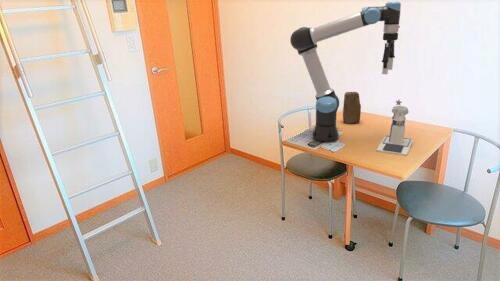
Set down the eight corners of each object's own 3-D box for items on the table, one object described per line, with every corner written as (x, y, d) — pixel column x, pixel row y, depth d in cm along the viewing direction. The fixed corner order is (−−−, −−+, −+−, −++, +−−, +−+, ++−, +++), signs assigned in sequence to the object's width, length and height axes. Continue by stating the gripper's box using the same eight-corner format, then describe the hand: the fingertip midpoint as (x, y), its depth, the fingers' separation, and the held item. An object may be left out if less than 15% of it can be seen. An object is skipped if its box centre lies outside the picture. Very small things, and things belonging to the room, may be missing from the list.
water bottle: (406, 144, 195) (412, 99, 186) (389, 143, 197) (394, 99, 187) (403, 138, 202) (408, 95, 193) (387, 138, 204) (391, 95, 195)
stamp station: (376, 151, 191) (376, 148, 190) (385, 137, 208) (385, 134, 208) (406, 155, 183) (407, 153, 183) (412, 140, 201) (413, 138, 201)
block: (342, 123, 233) (344, 93, 226) (342, 120, 240) (343, 91, 233) (360, 124, 231) (362, 93, 224) (359, 120, 238) (361, 91, 230)
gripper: (393, 35, 181) (390, 76, 189) (402, 30, 201) (398, 68, 209) (378, 34, 185) (375, 75, 193) (388, 30, 205) (384, 67, 213)
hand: (387, 71), depth 201 cm, fingers open, 13 cm apart
